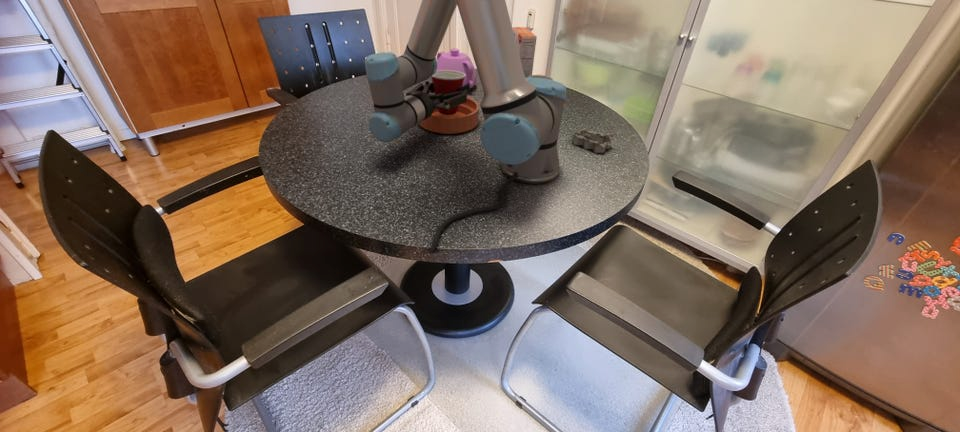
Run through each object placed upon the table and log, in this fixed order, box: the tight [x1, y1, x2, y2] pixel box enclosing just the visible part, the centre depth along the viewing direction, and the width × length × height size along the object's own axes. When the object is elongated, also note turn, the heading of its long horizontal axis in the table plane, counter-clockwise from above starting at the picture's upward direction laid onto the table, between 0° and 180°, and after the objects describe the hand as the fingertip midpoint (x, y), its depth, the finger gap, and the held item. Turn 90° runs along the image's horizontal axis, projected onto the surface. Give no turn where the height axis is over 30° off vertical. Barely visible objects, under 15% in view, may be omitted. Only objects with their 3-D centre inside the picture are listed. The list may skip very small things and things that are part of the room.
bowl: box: [418, 96, 480, 135], centre depth 117 cm, size 19×19×6 cm
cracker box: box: [512, 26, 538, 78], centre depth 140 cm, size 14×6×21 cm, turn 10°
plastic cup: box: [430, 70, 466, 115], centre depth 113 cm, size 11×11×12 cm
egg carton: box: [571, 128, 615, 154], centre depth 109 cm, size 11×8×4 cm
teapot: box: [436, 48, 478, 90], centre depth 140 cm, size 22×22×14 cm
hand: (455, 85), depth 116 cm, fingers closed on plastic cup, 9 cm apart
